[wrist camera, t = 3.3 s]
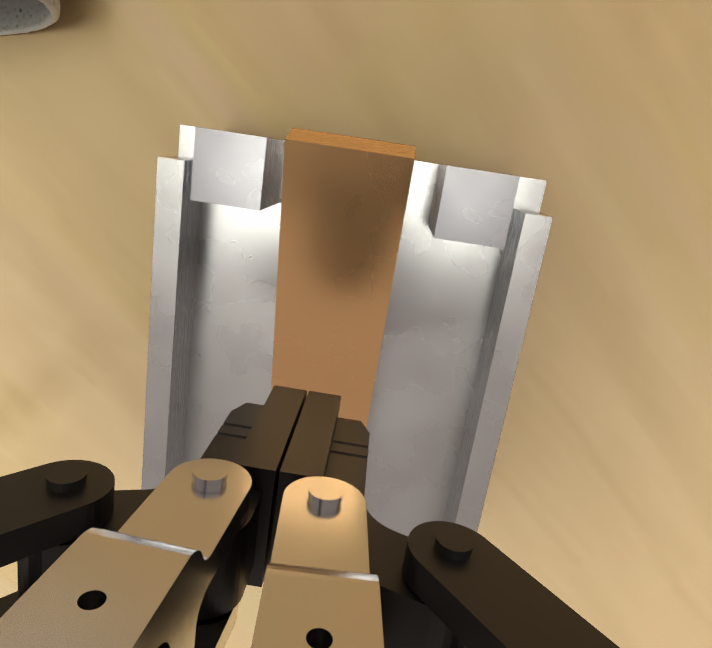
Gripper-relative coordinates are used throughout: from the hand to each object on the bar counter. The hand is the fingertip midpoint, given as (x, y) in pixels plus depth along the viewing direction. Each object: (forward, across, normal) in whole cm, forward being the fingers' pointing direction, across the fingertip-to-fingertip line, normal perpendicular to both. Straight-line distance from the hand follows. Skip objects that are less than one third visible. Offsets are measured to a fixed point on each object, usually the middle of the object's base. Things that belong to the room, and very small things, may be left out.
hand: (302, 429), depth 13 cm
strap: (+5, 0, +2) cm, 6 cm away
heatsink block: (+13, 0, +2) cm, 13 cm away
